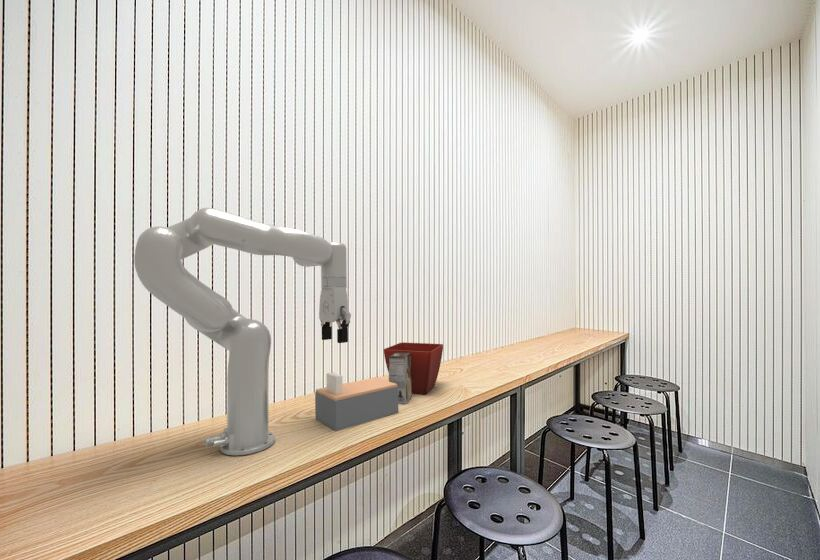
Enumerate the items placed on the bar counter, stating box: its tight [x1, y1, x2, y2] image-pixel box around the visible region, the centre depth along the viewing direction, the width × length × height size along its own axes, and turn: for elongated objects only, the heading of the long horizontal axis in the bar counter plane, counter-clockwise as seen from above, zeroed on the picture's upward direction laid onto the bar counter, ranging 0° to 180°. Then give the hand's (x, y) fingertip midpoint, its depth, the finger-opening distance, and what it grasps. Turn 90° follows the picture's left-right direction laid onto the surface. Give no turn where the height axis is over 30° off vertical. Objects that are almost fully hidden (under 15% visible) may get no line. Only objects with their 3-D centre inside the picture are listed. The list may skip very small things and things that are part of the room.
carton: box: [314, 387, 399, 432], centre depth 110 cm, size 22×13×8 cm, turn 130°
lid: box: [315, 372, 397, 401], centre depth 110 cm, size 22×12×6 cm, turn 130°
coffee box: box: [388, 353, 413, 405], centre depth 125 cm, size 9×6×16 cm
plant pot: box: [383, 341, 444, 395], centre depth 139 cm, size 19×19×17 cm
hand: (334, 341), depth 105 cm, fingers open, 9 cm apart
